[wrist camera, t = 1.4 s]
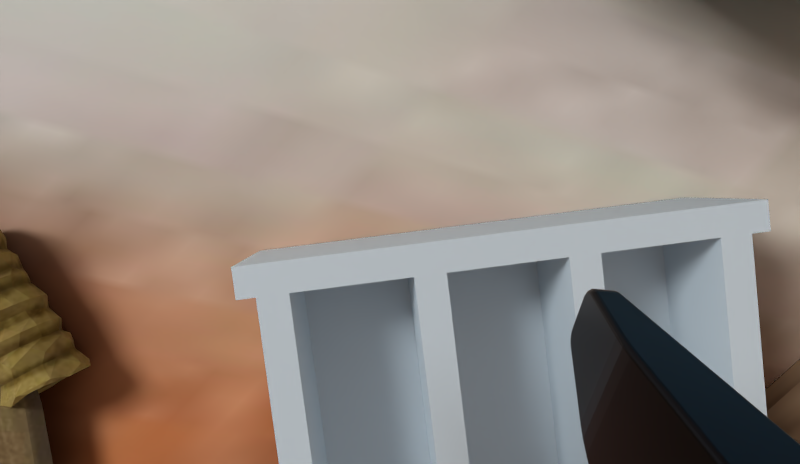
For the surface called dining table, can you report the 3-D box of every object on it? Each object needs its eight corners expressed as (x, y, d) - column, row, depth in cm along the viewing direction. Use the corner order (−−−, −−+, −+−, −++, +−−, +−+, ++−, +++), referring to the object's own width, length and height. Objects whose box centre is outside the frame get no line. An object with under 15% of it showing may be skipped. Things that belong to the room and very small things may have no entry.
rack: (717, 563, 26) (805, 655, 21) (311, 625, 25) (297, 737, 20) (684, 197, 25) (768, 199, 20) (259, 250, 24) (231, 267, 19)
